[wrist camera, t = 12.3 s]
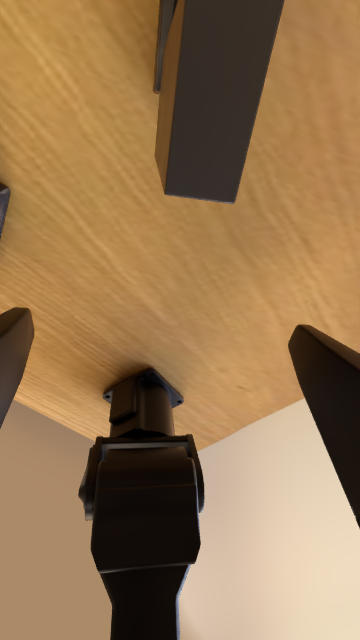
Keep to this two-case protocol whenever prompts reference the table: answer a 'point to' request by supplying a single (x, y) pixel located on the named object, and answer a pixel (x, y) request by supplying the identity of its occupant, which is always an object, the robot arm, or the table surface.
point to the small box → (3, 204)
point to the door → (212, 94)
